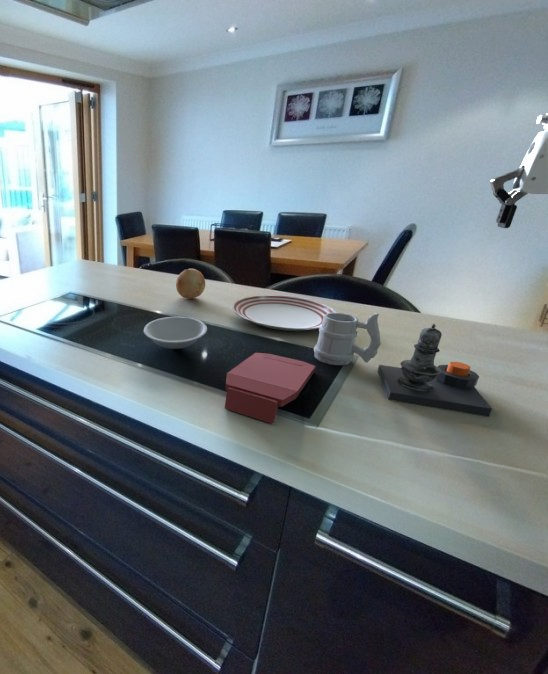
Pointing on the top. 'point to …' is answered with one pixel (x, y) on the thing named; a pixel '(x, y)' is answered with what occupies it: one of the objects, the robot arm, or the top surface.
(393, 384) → the scale
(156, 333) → the dish
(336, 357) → the mug
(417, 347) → the salt shaker
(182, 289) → the onion
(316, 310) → the dinner plate
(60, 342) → the top surface
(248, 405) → the carton
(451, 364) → the button
